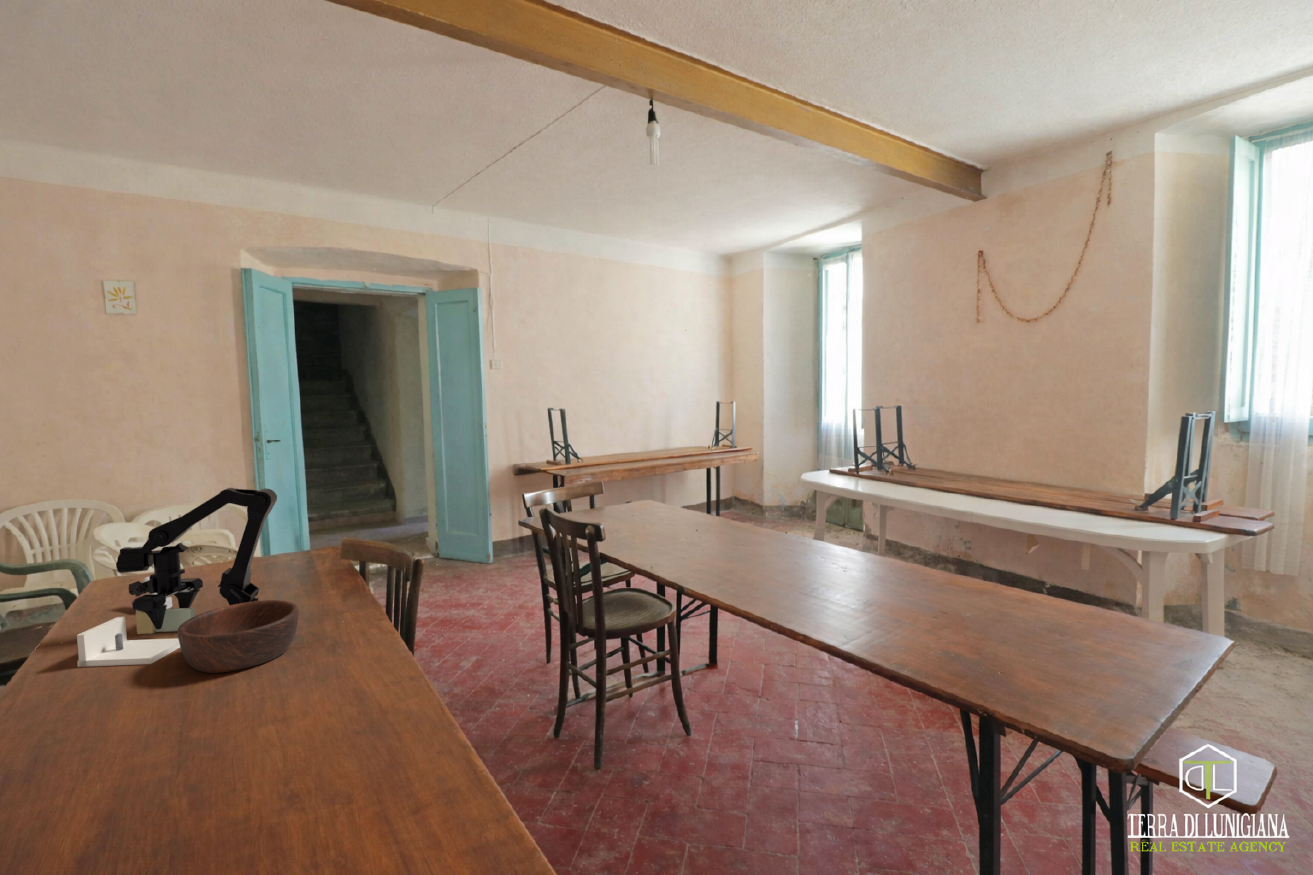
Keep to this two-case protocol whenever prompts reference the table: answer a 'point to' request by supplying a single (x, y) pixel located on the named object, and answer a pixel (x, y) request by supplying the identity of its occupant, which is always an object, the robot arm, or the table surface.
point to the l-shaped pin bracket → (119, 646)
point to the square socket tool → (170, 621)
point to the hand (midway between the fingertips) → (171, 622)
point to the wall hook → (168, 599)
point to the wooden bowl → (238, 635)
